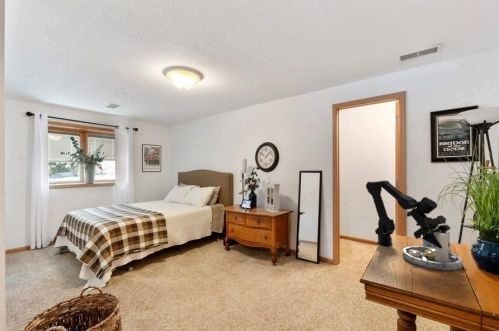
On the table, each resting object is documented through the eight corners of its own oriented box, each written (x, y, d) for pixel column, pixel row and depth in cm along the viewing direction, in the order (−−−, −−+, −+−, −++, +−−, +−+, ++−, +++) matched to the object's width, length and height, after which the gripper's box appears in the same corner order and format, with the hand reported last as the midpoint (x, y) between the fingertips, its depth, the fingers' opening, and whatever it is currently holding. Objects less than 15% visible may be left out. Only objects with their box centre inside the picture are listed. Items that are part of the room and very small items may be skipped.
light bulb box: (422, 247, 138) (422, 228, 138) (429, 245, 141) (428, 227, 141) (443, 253, 128) (443, 233, 128) (450, 251, 131) (450, 231, 131)
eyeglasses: (473, 293, 90) (473, 280, 90) (429, 290, 93) (429, 277, 93) (447, 274, 106) (447, 263, 106) (410, 272, 109) (410, 261, 109)
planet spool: (436, 262, 112) (435, 235, 112) (434, 258, 117) (433, 232, 117) (451, 264, 109) (451, 236, 109) (448, 260, 114) (447, 233, 114)
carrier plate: (393, 258, 123) (393, 250, 123) (415, 248, 136) (415, 241, 136) (450, 276, 103) (450, 266, 103) (470, 262, 115) (470, 254, 115)
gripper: (418, 211, 114) (444, 241, 103) (446, 208, 119) (472, 236, 109) (404, 224, 121) (426, 253, 111) (430, 220, 127) (453, 247, 116)
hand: (445, 247), depth 112 cm, fingers open, 5 cm apart
